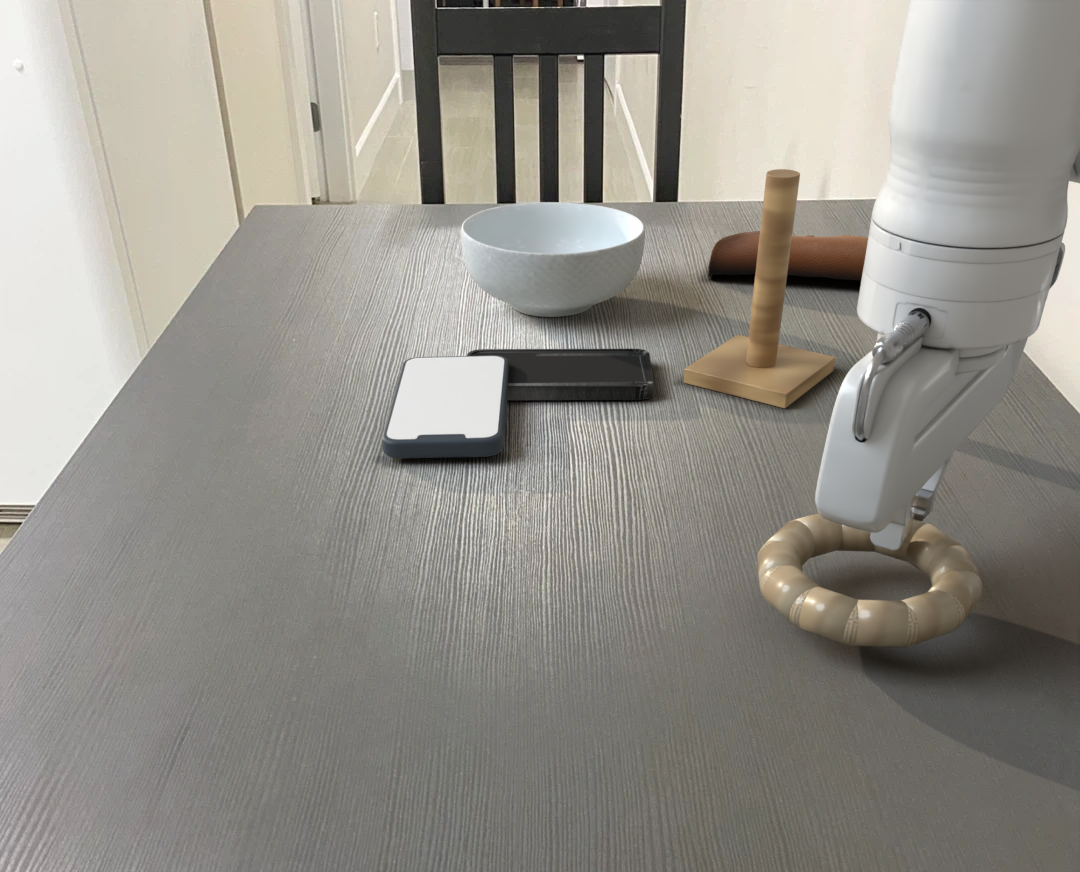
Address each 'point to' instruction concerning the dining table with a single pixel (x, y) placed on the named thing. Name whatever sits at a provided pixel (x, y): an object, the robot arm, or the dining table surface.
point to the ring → (868, 618)
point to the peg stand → (766, 318)
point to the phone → (576, 373)
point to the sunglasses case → (793, 256)
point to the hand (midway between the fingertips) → (900, 529)
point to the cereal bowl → (552, 255)
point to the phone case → (448, 408)
